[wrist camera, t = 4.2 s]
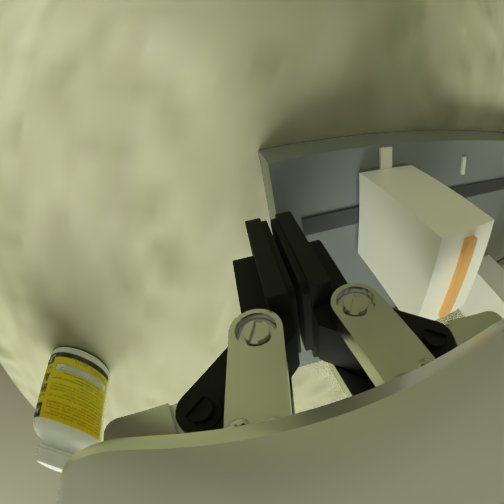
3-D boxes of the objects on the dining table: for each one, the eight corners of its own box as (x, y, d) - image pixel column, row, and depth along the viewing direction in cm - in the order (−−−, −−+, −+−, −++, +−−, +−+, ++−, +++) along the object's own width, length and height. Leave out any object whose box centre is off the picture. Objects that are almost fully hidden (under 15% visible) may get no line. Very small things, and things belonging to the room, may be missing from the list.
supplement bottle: (48, 335, 16) (17, 450, 8) (111, 356, 18) (97, 479, 10) (56, 369, 18) (37, 464, 10) (109, 386, 20) (101, 485, 12)
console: (498, 263, 20) (510, 275, 18) (290, 345, 19) (297, 368, 18) (528, 135, 12) (545, 144, 10) (258, 150, 11) (268, 163, 9)
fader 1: (403, 239, 12) (465, 309, 8) (357, 252, 12) (415, 334, 8) (411, 165, 10) (498, 223, 6) (359, 172, 10) (446, 242, 6)
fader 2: (474, 291, 17) (507, 333, 13) (453, 302, 17) (487, 348, 13) (488, 254, 15) (529, 297, 11) (468, 263, 15) (511, 312, 11)
